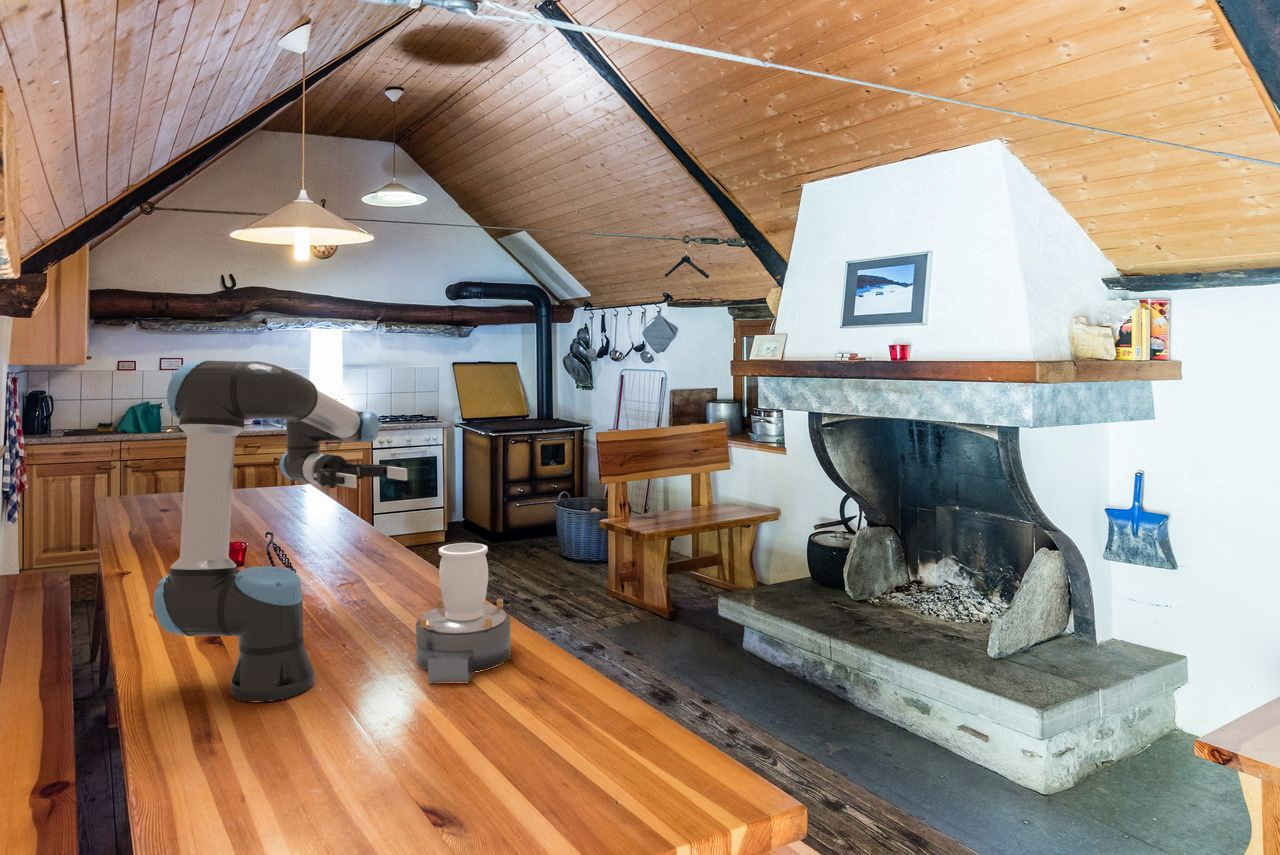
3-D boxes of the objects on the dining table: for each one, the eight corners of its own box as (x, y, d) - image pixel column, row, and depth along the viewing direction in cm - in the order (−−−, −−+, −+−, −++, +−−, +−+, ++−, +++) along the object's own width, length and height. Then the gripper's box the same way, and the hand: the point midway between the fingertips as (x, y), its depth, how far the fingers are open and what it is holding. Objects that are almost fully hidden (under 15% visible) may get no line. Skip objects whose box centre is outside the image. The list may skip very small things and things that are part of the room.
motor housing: (498, 683, 168) (497, 632, 166) (398, 683, 168) (396, 631, 167) (517, 640, 192) (517, 595, 191) (430, 639, 192) (429, 594, 191)
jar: (436, 611, 184) (434, 544, 183) (482, 606, 188) (481, 540, 187) (445, 626, 174) (443, 555, 173) (494, 619, 179) (493, 550, 177)
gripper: (371, 479, 212) (425, 487, 200) (278, 492, 193) (332, 502, 180) (370, 449, 212) (425, 456, 199) (277, 459, 192) (331, 467, 179)
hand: (381, 478), depth 190 cm, fingers open, 13 cm apart
